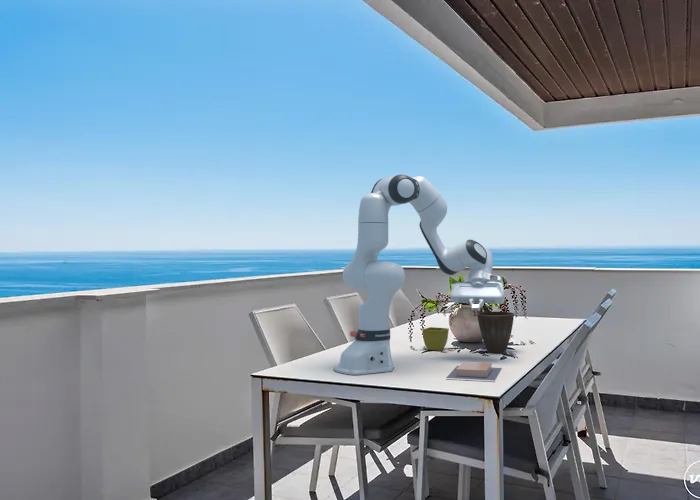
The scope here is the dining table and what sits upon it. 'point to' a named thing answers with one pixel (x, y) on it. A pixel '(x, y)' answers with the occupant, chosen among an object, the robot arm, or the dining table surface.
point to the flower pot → (435, 338)
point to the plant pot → (495, 330)
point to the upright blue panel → (474, 369)
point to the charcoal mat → (491, 376)
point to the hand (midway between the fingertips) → (475, 309)
